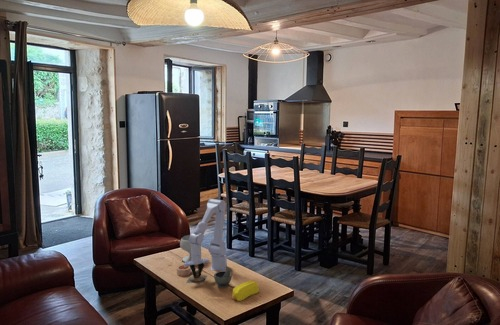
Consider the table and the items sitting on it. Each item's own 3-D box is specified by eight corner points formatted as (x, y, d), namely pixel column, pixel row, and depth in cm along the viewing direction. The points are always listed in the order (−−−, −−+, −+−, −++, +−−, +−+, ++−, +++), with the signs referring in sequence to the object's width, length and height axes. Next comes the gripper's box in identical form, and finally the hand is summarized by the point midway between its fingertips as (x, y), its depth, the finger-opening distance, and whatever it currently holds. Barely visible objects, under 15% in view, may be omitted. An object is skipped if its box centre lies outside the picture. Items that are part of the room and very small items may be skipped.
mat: (207, 276, 225) (207, 275, 225) (203, 284, 215) (203, 283, 215) (190, 276, 226) (190, 275, 226) (186, 283, 216) (186, 282, 216)
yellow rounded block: (262, 292, 205) (252, 287, 210) (262, 280, 204) (252, 276, 209) (238, 304, 193) (228, 299, 198) (237, 291, 192) (228, 286, 197)
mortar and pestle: (210, 286, 212) (210, 266, 210) (222, 280, 219) (221, 261, 217) (225, 292, 205) (225, 271, 203) (237, 286, 212) (236, 265, 210)
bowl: (192, 270, 233) (192, 264, 232) (188, 276, 225) (188, 270, 224) (179, 270, 234) (178, 264, 233) (175, 276, 225) (174, 269, 225)
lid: (205, 275, 224) (205, 268, 223) (202, 282, 216) (202, 274, 215) (191, 275, 225) (191, 268, 224) (187, 281, 216) (187, 274, 216)
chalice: (199, 263, 244) (199, 241, 242) (178, 263, 244) (177, 241, 242) (203, 255, 257) (202, 234, 256) (183, 255, 258) (182, 234, 256)
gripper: (205, 249, 225) (206, 271, 227) (182, 253, 218) (182, 276, 220) (210, 253, 219) (210, 275, 220) (185, 257, 212) (186, 280, 214)
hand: (196, 276), depth 220 cm, fingers closed on lid, 3 cm apart
